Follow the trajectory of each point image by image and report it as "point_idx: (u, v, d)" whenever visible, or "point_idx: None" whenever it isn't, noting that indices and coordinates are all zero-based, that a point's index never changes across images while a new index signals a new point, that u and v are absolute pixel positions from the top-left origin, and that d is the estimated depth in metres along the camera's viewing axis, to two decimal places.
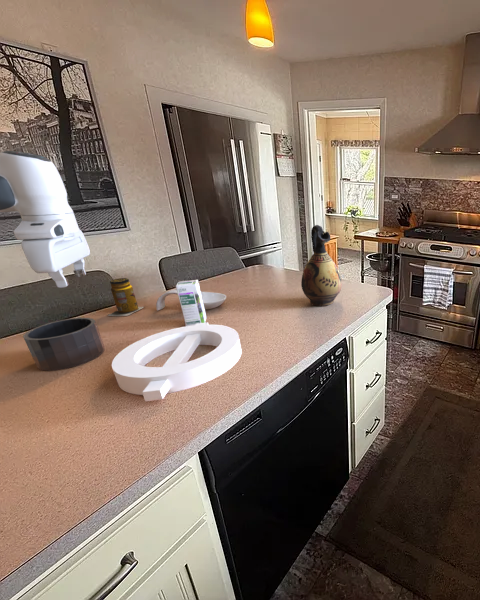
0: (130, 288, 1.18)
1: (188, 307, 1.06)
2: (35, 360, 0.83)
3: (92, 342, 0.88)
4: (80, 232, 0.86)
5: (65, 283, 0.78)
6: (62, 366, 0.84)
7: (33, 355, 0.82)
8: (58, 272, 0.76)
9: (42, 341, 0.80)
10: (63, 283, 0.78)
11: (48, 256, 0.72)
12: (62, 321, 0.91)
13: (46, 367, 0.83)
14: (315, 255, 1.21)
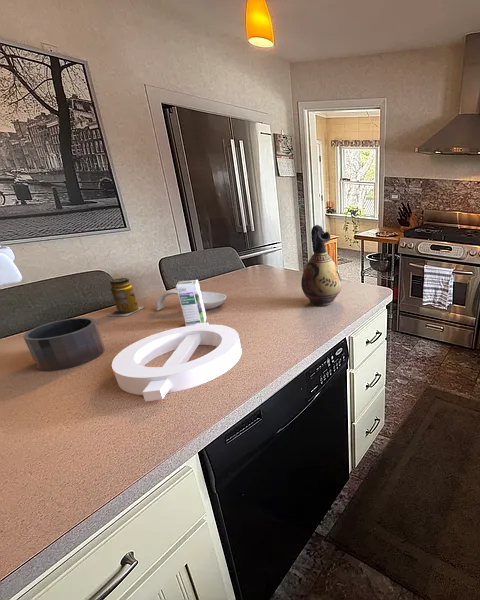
0: (130, 288, 1.18)
1: (188, 307, 1.06)
2: (35, 360, 0.83)
3: (92, 342, 0.88)
4: None
5: None
6: (62, 366, 0.84)
7: (33, 355, 0.82)
8: None
9: (42, 341, 0.80)
10: None
11: None
12: (62, 321, 0.91)
13: (46, 367, 0.83)
14: (315, 255, 1.21)
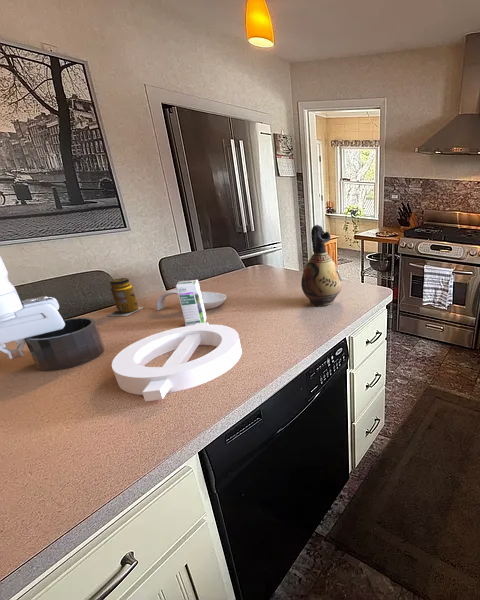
0: (130, 288, 1.18)
1: (188, 307, 1.06)
2: (35, 360, 0.83)
3: (92, 342, 0.88)
4: (45, 308, 0.82)
5: (9, 356, 0.80)
6: (62, 366, 0.84)
7: (33, 355, 0.82)
8: None
9: (42, 341, 0.80)
10: None
11: None
12: None
13: (46, 367, 0.83)
14: (315, 255, 1.21)
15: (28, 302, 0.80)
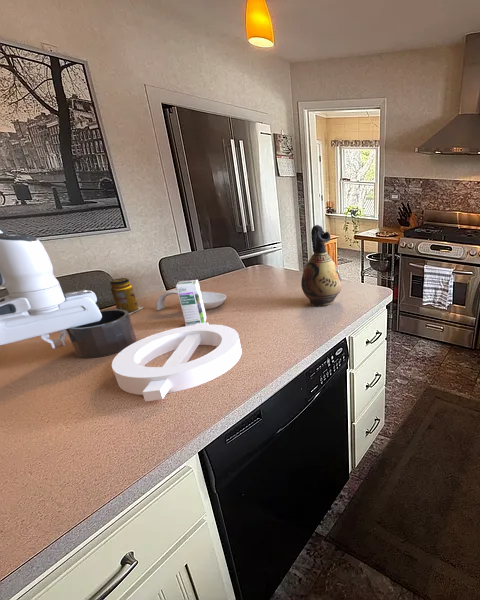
0: (130, 288, 1.18)
1: (188, 307, 1.06)
2: (76, 348, 0.88)
3: (127, 331, 0.94)
4: (85, 301, 0.88)
5: (52, 346, 0.85)
6: (101, 353, 0.90)
7: (74, 343, 0.88)
8: (41, 337, 0.83)
9: (84, 330, 0.86)
10: (51, 345, 0.85)
11: None
12: None
13: (87, 354, 0.89)
14: (315, 255, 1.21)
15: (70, 295, 0.86)
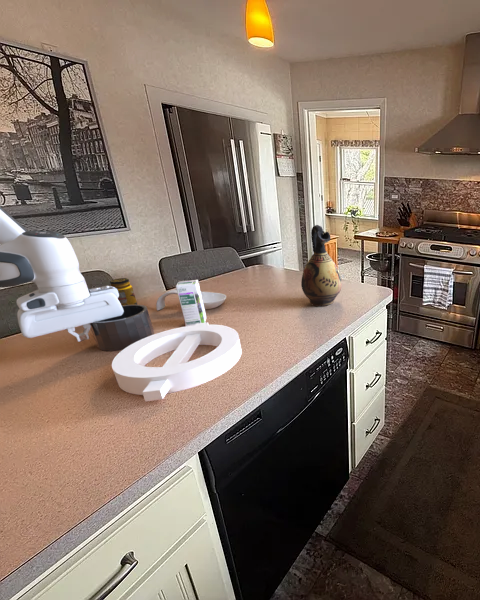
0: (130, 288, 1.18)
1: (188, 307, 1.06)
2: (99, 341, 0.92)
3: (147, 325, 0.98)
4: (108, 296, 0.91)
5: (77, 339, 0.89)
6: (124, 346, 0.94)
7: (98, 337, 0.91)
8: (67, 330, 0.87)
9: (108, 324, 0.90)
10: (77, 338, 0.89)
11: (19, 325, 0.79)
12: None
13: (110, 347, 0.92)
14: (315, 255, 1.21)
15: (94, 291, 0.90)
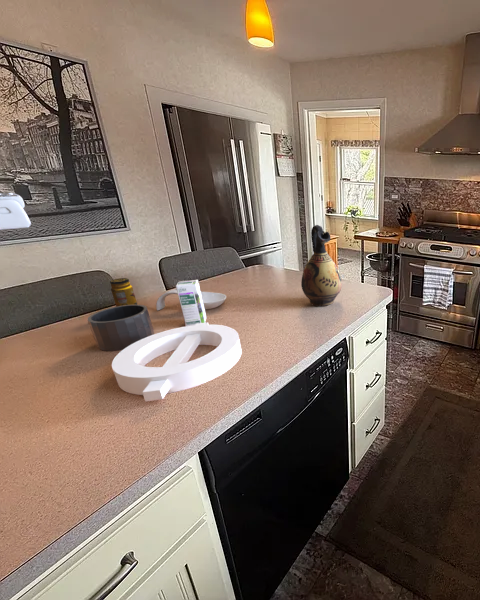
0: (130, 288, 1.18)
1: (188, 307, 1.06)
2: (99, 342, 0.92)
3: (147, 325, 0.98)
4: (10, 203, 0.84)
5: None
6: (124, 346, 0.94)
7: (98, 337, 0.91)
8: None
9: (109, 324, 0.90)
10: None
11: None
12: (114, 308, 1.00)
13: (110, 347, 0.92)
14: (315, 255, 1.21)
15: None
